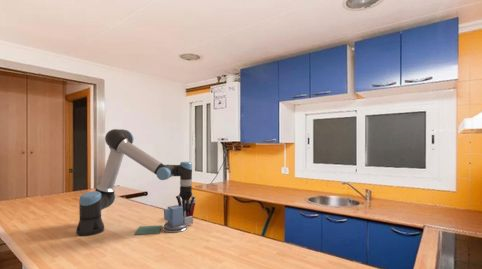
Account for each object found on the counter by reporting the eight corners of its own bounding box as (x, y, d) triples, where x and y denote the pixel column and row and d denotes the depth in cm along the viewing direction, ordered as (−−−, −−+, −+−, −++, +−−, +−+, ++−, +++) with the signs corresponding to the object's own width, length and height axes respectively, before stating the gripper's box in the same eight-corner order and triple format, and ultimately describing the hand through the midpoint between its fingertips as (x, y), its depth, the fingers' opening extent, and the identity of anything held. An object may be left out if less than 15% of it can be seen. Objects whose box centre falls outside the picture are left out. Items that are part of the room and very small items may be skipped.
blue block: (162, 225, 171) (162, 207, 171) (179, 221, 179) (179, 204, 179) (167, 228, 166) (167, 210, 166) (184, 224, 173) (184, 206, 173)
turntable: (160, 226, 174) (160, 219, 174) (186, 220, 186) (186, 214, 186) (170, 232, 163) (169, 224, 163) (197, 225, 175) (197, 218, 175)
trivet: (134, 235, 162) (134, 234, 162) (139, 227, 176) (139, 226, 176) (158, 233, 164) (158, 232, 164) (162, 226, 178) (162, 225, 178)
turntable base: (161, 233, 165) (161, 232, 165) (164, 225, 179) (164, 224, 179) (186, 232, 166) (186, 230, 166) (188, 224, 181) (188, 223, 181)
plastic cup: (193, 219, 191) (193, 202, 192) (178, 219, 193) (178, 202, 193) (198, 215, 202) (198, 199, 202) (184, 214, 204) (184, 198, 204)
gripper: (174, 186, 178) (173, 222, 177) (193, 186, 176) (193, 224, 176) (178, 184, 185) (178, 219, 185) (197, 184, 183) (196, 220, 183)
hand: (185, 221), depth 180 cm, fingers closed
